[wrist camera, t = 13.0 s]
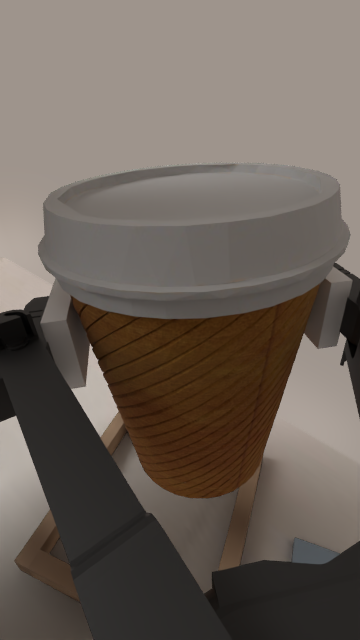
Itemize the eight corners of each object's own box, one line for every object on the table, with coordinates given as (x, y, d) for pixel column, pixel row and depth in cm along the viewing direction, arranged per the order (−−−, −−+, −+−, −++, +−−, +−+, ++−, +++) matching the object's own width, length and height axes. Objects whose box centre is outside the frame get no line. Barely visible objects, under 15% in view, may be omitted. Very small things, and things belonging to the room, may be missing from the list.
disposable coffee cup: (116, 379, 21) (70, 170, 14) (268, 368, 21) (292, 154, 14) (85, 551, 13) (-52, 250, 6) (335, 532, 13) (459, 213, 6)
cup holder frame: (216, 677, 19) (216, 670, 18) (20, 570, 24) (14, 560, 23) (262, 460, 30) (263, 450, 29) (123, 418, 35) (120, 408, 34)
